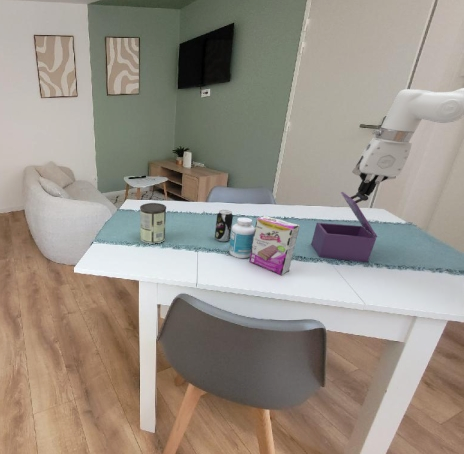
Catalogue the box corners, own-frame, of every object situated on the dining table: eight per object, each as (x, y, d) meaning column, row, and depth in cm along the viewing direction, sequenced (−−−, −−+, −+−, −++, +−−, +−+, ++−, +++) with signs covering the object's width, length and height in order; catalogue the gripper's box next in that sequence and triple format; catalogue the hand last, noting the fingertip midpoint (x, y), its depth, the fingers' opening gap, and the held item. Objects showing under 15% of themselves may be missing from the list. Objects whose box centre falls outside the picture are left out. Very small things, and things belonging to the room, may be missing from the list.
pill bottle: (255, 255, 104) (261, 220, 99) (242, 261, 101) (248, 225, 95) (236, 247, 110) (241, 214, 105) (224, 253, 107) (228, 219, 101)
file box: (319, 257, 101) (325, 234, 97) (311, 244, 110) (316, 222, 106) (367, 262, 96) (376, 238, 93) (355, 248, 105) (362, 225, 102)
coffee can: (148, 231, 127) (149, 201, 122) (169, 237, 121) (171, 205, 115) (135, 240, 120) (134, 208, 115) (156, 246, 114) (157, 213, 108)
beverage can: (229, 243, 113) (233, 214, 109) (213, 241, 116) (216, 213, 111) (230, 237, 118) (233, 209, 113) (215, 235, 121) (218, 208, 116)
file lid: (352, 202, 91) (369, 194, 89) (340, 192, 100) (355, 185, 98) (375, 237, 93) (392, 231, 91) (361, 225, 102) (376, 219, 100)
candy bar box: (248, 262, 100) (255, 218, 93) (256, 257, 102) (264, 214, 96) (281, 276, 91) (292, 228, 85) (289, 271, 94) (300, 224, 87)
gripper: (369, 135, 84) (340, 194, 93) (433, 141, 80) (397, 202, 89) (358, 130, 90) (332, 186, 99) (418, 136, 86) (385, 193, 95)
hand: (363, 193), depth 94 cm, fingers closed
